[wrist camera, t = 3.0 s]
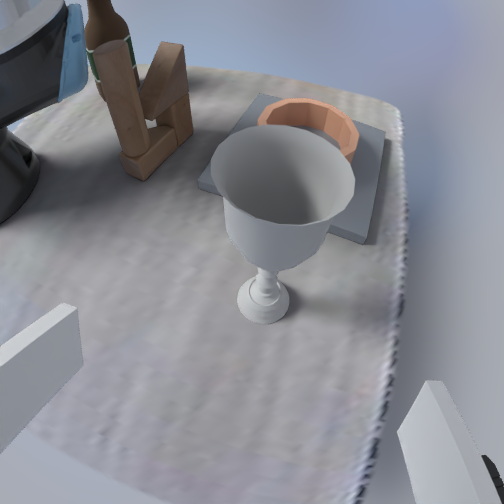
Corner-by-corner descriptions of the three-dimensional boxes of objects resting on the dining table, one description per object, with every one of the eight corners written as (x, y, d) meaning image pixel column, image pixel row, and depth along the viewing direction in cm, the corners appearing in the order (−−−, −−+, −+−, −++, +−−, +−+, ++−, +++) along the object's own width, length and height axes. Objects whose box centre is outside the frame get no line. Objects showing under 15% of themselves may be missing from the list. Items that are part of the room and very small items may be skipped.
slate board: (198, 188, 38) (197, 180, 36) (258, 100, 47) (259, 93, 46) (362, 244, 35) (366, 237, 33) (382, 139, 44) (385, 131, 42)
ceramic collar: (242, 166, 38) (242, 141, 34) (275, 112, 43) (277, 90, 40) (340, 198, 36) (349, 174, 32) (356, 137, 41) (363, 115, 38)
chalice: (213, 313, 30) (182, 190, 15) (244, 256, 33) (247, 111, 18) (284, 345, 29) (333, 251, 13) (310, 285, 32) (367, 153, 16)
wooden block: (194, 133, 43) (181, 15, 27) (144, 183, 38) (105, 56, 22) (175, 126, 44) (157, 14, 28) (124, 173, 39) (83, 54, 23)
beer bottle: (118, 106, 47) (86, -22, 26) (92, 98, 48) (59, -16, 27) (149, 83, 50) (129, -37, 29) (121, 77, 52) (98, -32, 31)
